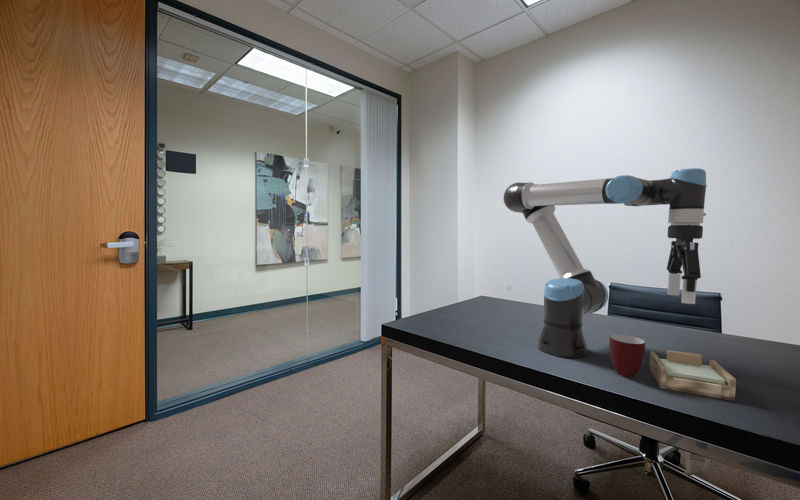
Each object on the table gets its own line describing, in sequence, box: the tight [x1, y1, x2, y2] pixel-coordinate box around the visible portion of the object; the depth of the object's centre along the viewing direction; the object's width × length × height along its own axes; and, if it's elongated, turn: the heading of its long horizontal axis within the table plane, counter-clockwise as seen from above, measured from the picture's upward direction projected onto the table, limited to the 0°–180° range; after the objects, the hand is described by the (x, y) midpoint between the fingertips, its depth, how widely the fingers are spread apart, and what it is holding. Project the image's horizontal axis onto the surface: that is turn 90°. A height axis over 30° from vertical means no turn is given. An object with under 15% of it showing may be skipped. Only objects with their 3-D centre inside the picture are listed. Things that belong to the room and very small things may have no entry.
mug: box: [608, 334, 646, 378], centre depth 92 cm, size 11×8×10 cm
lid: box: [658, 349, 725, 385], centre depth 86 cm, size 11×10×4 cm
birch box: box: [648, 351, 737, 402], centre depth 86 cm, size 14×13×5 cm
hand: (680, 298), depth 95 cm, fingers open, 13 cm apart
